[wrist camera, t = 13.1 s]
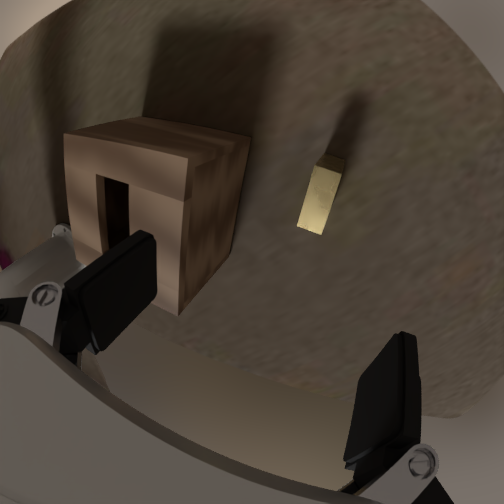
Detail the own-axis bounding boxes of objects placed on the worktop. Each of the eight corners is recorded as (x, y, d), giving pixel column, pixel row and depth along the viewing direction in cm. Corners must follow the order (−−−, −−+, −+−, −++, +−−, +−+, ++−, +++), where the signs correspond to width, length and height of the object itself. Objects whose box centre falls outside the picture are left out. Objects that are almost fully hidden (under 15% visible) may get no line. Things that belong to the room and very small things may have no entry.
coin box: (228, 256, 33) (178, 316, 24) (136, 220, 36) (76, 259, 27) (251, 137, 25) (188, 158, 16) (140, 116, 28) (63, 133, 19)
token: (329, 208, 26) (321, 234, 21) (310, 201, 26) (296, 226, 22) (345, 160, 23) (341, 174, 18) (324, 152, 24) (314, 165, 19)
